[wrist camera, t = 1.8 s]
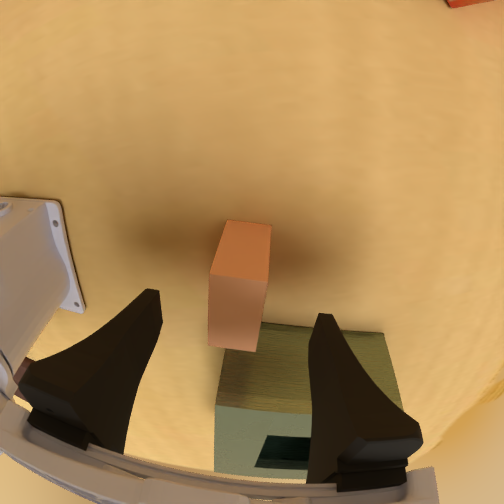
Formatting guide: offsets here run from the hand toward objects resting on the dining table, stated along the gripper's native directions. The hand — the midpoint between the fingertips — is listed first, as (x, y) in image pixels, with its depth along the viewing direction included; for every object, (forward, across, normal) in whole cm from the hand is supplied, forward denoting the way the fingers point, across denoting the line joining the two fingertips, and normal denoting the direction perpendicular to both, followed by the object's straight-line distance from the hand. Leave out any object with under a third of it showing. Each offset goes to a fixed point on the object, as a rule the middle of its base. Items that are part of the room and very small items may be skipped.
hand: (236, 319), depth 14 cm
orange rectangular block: (+5, 0, 0) cm, 5 cm away
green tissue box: (+5, -5, +12) cm, 14 cm away
